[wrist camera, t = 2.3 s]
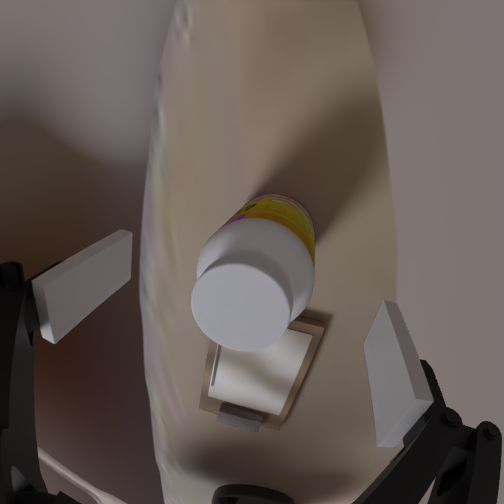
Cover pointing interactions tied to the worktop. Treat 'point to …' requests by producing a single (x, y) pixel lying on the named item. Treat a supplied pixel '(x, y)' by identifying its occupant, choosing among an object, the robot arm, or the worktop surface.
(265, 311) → the supplement bottle
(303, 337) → the clipboard
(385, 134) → the worktop surface
